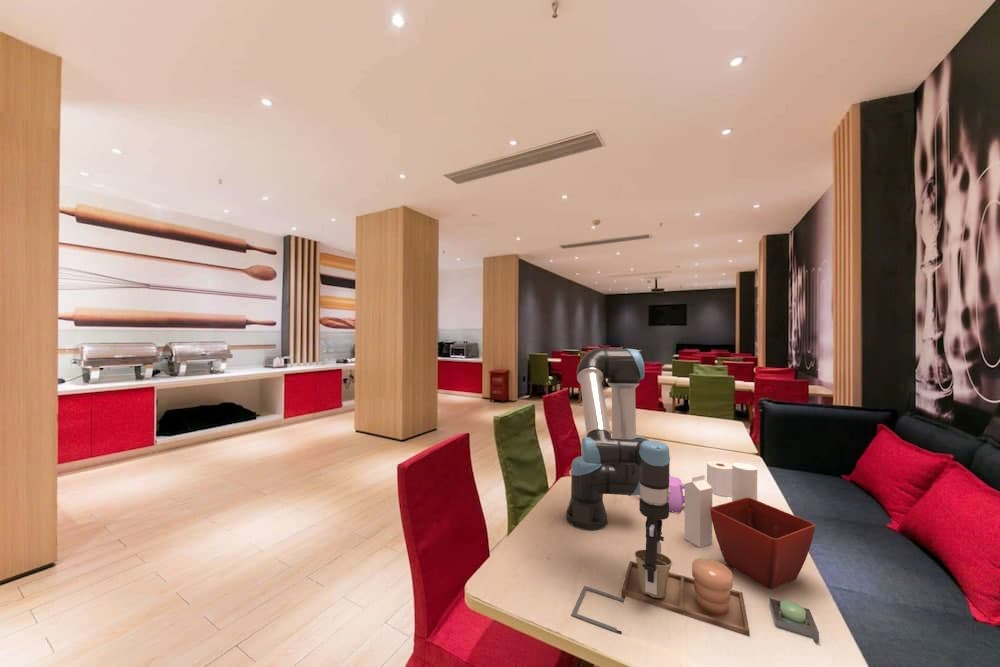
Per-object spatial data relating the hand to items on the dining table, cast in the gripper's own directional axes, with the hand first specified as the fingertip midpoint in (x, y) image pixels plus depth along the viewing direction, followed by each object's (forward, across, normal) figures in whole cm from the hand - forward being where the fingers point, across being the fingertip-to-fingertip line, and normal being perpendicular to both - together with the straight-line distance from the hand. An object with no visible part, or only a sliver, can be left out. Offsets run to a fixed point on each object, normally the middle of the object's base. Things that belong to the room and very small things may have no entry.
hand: (653, 577), depth 101 cm
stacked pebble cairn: (+2, 0, -14) cm, 14 cm away
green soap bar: (+2, +3, -31) cm, 31 cm away
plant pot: (+4, +23, -27) cm, 35 cm away
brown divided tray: (+3, 0, -7) cm, 8 cm away
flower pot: (+2, -4, 0) cm, 4 cm away
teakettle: (+4, +57, +2) cm, 57 cm away
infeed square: (+3, -14, +11) cm, 18 cm away
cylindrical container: (+4, +42, -25) cm, 49 cm away
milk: (+4, +33, -11) cm, 35 cm away
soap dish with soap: (+3, +3, -31) cm, 31 cm away
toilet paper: (+4, +83, -20) cm, 85 cm away
